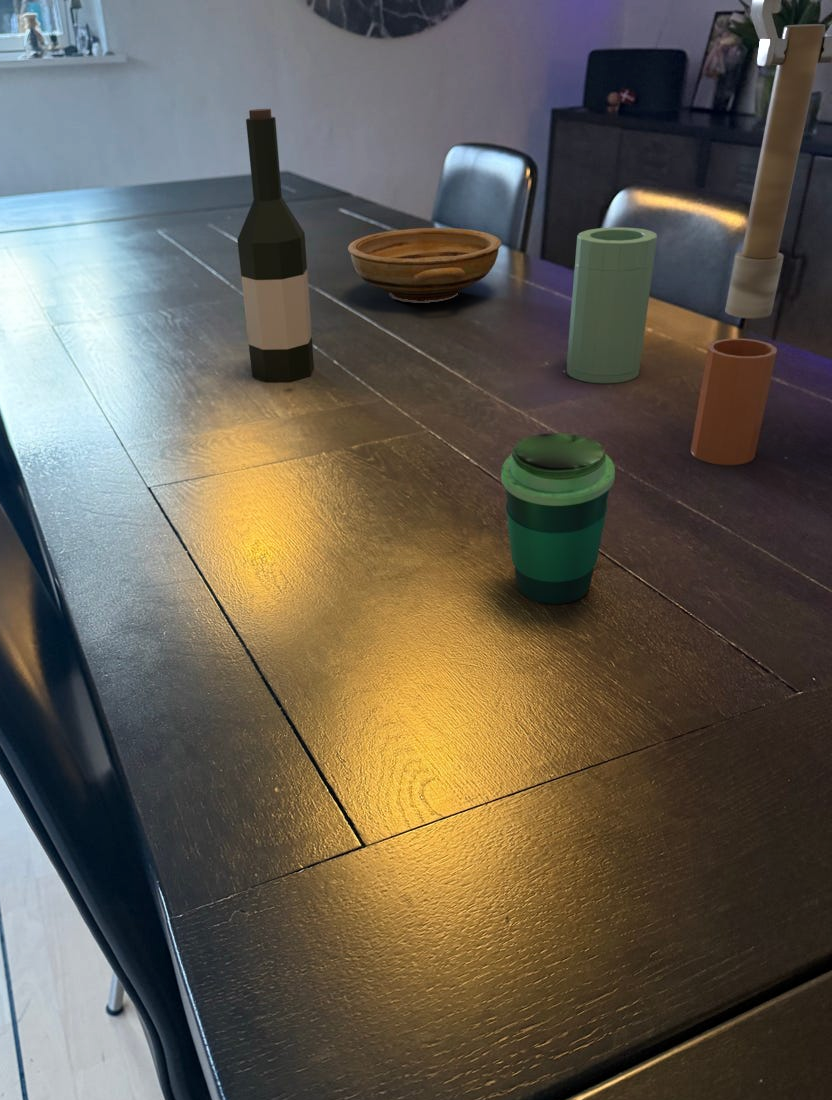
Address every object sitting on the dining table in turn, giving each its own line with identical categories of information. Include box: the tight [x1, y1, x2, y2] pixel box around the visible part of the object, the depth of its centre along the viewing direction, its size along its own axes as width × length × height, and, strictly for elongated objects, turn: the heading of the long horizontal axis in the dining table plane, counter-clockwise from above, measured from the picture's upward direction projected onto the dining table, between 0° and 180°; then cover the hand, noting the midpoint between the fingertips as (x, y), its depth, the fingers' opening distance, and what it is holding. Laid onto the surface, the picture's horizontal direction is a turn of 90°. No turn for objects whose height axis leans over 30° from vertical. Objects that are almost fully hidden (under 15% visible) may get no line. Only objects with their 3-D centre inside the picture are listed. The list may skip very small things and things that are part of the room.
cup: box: [500, 432, 616, 605], centre depth 70 cm, size 8×8×12 cm
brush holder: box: [690, 338, 778, 466], centre depth 90 cm, size 6×6×11 cm
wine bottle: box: [236, 108, 315, 383], centre depth 113 cm, size 8×8×30 cm
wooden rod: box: [724, 23, 826, 319], centre depth 79 cm, size 4×4×22 cm
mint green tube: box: [566, 226, 658, 384], centre depth 111 cm, size 9×9×16 cm
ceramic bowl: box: [347, 227, 502, 301], centre depth 149 cm, size 30×24×8 cm
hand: (796, 64), depth 74 cm, fingers closed on wooden rod, 3 cm apart
